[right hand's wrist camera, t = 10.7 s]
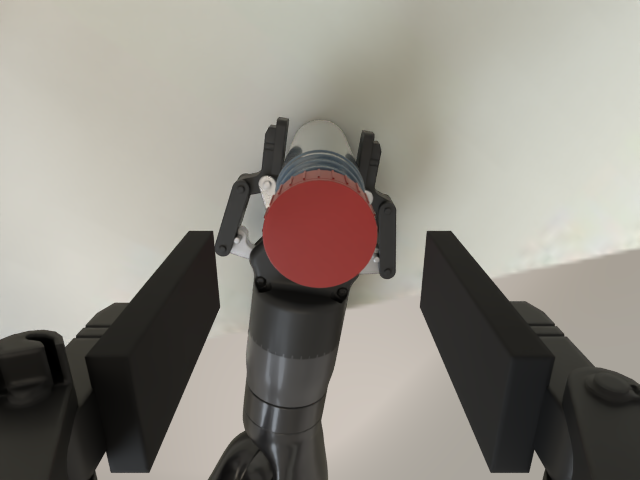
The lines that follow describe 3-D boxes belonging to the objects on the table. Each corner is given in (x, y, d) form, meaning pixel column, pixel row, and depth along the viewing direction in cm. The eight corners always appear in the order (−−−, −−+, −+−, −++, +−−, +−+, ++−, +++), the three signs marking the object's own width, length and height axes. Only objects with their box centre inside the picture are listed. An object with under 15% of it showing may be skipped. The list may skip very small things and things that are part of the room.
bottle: (358, 153, 37) (402, 243, 18) (314, 185, 38) (309, 306, 19) (325, 107, 36) (331, 149, 16) (281, 142, 37) (236, 222, 17)
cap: (394, 230, 19) (402, 247, 17) (310, 288, 20) (309, 309, 18) (330, 145, 18) (332, 153, 16) (244, 211, 19) (236, 226, 17)
